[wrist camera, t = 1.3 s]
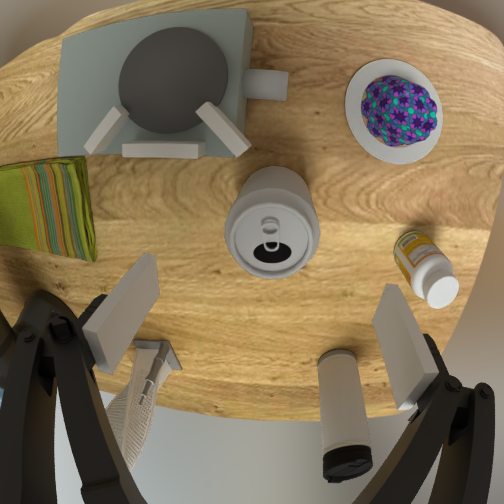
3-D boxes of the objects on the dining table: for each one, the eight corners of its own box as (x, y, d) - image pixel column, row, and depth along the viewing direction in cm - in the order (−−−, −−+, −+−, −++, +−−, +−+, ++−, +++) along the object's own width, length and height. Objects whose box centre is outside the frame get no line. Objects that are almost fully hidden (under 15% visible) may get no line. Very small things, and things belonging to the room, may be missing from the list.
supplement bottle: (420, 270, 33) (450, 316, 25) (387, 264, 34) (413, 312, 25) (434, 234, 31) (472, 273, 22) (400, 226, 31) (434, 266, 22)
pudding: (336, 150, 28) (346, 158, 24) (349, 47, 23) (361, 36, 18) (429, 173, 28) (451, 185, 23) (444, 79, 22) (468, 77, 18)
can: (245, 230, 34) (227, 289, 23) (238, 167, 30) (212, 198, 20) (310, 227, 33) (322, 285, 22) (307, 162, 29) (322, 191, 19)
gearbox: (88, 147, 30) (43, 161, 23) (92, 44, 24) (48, 36, 16) (280, 153, 29) (279, 167, 22) (292, 30, 23) (295, 2, 15)
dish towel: (102, 258, 38) (91, 268, 36) (-15, 239, 41) (-24, 246, 38) (89, 153, 31) (74, 158, 28) (-28, 171, 34) (-39, 176, 31)
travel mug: (309, 369, 44) (311, 482, 26) (330, 344, 41) (342, 467, 23) (341, 377, 44) (351, 483, 26) (362, 353, 41) (384, 467, 23)
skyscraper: (184, 373, 47) (138, 514, 23) (146, 370, 49) (93, 496, 24) (168, 340, 44) (104, 497, 19) (128, 339, 45) (58, 475, 20)
